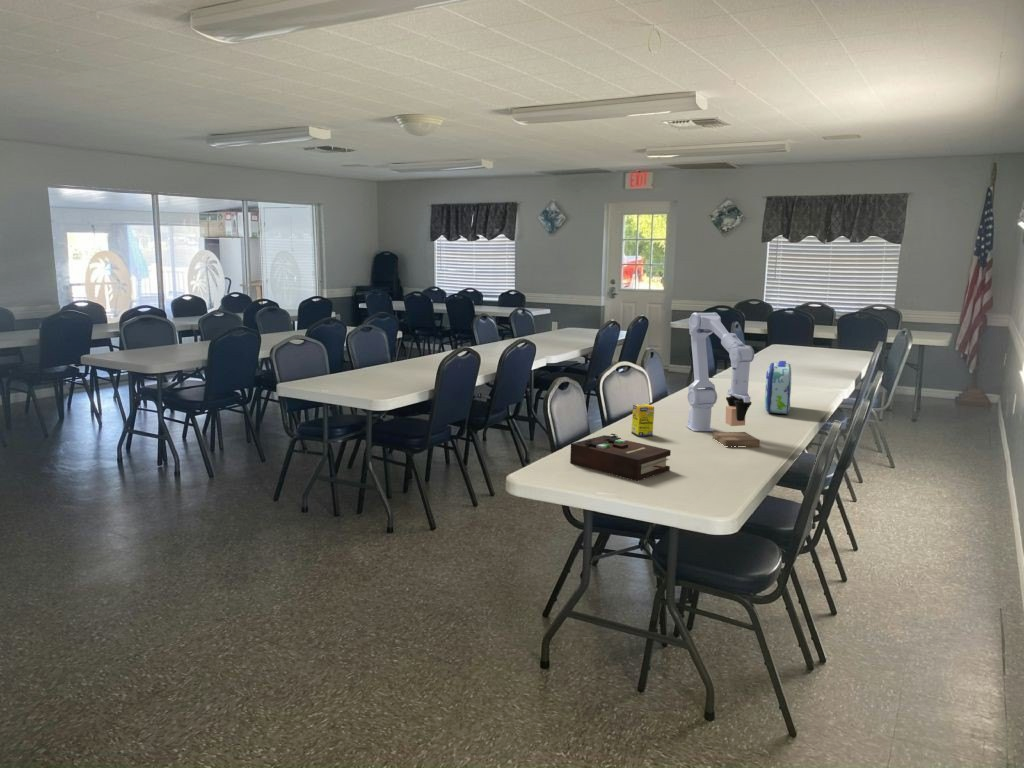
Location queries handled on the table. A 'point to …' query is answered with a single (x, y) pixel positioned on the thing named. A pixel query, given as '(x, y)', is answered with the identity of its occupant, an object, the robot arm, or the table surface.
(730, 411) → the terracotta block
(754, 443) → the walnut block
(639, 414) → the supplement box
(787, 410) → the lunch box
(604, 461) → the decorative book
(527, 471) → the table surface
